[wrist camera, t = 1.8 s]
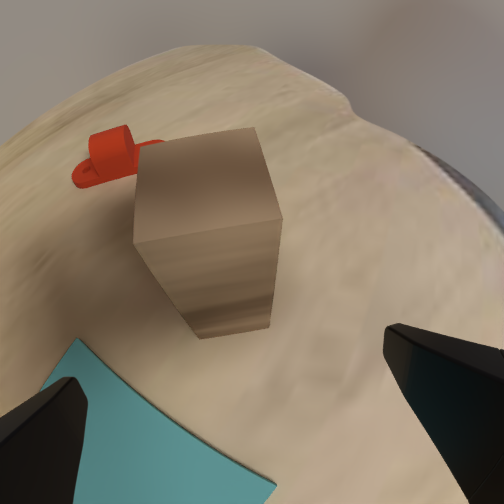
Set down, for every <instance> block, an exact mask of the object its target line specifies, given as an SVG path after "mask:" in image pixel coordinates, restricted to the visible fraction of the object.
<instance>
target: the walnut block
mask: <svg viewBox="0 0 504 504" xmlns="http://www.w3.org/2000/svg"><path fill="white" fill-rule="evenodd" d="M282 221H283V218H282V214H281V211H280V207H279V204H278V201H277V198H276V194H275V191H274V188H273V184H272V181H271V178H270V175H269V172H268V168H267V165H266V162H265V159H264V156H263V153H262V149H261V146H260V143H259V140H258V137H257V134H256V131H255V128H254V127H252V128H243V129H236V130H228V131H222V132H215V133H209V134H203V135H197V136H191V137H185V138H180V139H175V140H170V141H165V142H160V143H155V144H151V145H146V146H142V147H140V153H139V162H138V172H137V183H136V195H135V210H134V229H133V245H134V246H135V248H136V249H137V251H138V252H139V254H140V256H141V257H142V259H143V260H144V262H145V263H146V265H147V266H148V268H149V269H150V271H151V272H152V274H153V275H154V277H155V278H156V280H157V281H158V283H159V284H160V285H161V287H162V288H163V290H164V291H165V293H166V294H167V296H168V297H169V298H170V300H171V301H172V303H173V304H174V305H175V307H176V308H177V310H178V311H179V312H180V314H181V315H182V316H183V318H184V319H185V321H186V322H187V323H188V325H189V326H190V327H191V329H192V330H193V331H194V333H195V334H196V335H197V337H198V338H199V339H206V338H212V337H219V336H225V335H231V334H237V333H243V332H249V331H254V330H260V329H265V328H269V326H270V318H271V311H272V303H273V295H274V288H275V280H276V272H277V263H278V255H279V247H280V238H281V229H282Z"/></svg>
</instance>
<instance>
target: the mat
mask: <svg viewBox="0 0 504 504" xmlns="http://www.w3.org/2000/svg"><path fill="white" fill-rule="evenodd" d="M62 377H75V378H76V379H77V380H78V381H79V383H80V385H81V387H82V389H83V391H84V393H85V395H86V397H87V399H88V411H87V419H86V427H85V436H84V444H83V450H82V455H81V460H80V465H79V470H78V476H77V482H76V488H75V494H74V501H73V504H264V502H265V501H266V500H267V499H268V497H269V496H270V495H271V493H272V492H273V491H274V490H275V488H276V487H277V484H275V483H273V482H271V481H269V480H268V479H266V478H264V477H262V476H260V475H258V474H256V473H254V472H252V471H251V470H249V469H247V468H245V467H244V466H242V465H240V464H238V463H237V462H235V461H233V460H231V459H230V458H228V457H227V456H225V455H223V454H222V453H220V452H218V451H217V450H215V449H214V448H212V447H210V446H209V445H207V444H206V443H204V442H203V441H201V440H200V439H198V438H197V437H195V436H194V435H192V434H191V433H190V432H188V431H187V430H185V429H184V428H182V427H181V426H180V425H178V424H177V423H176V422H174V421H173V420H171V419H170V418H169V417H167V416H166V415H165V414H163V413H162V412H161V411H160V410H158V409H157V408H156V407H154V406H153V405H152V404H151V403H149V402H148V401H147V400H146V399H144V398H143V397H142V396H141V395H140V394H138V393H137V392H136V391H135V390H134V389H132V388H131V387H130V386H129V385H128V384H127V383H125V382H124V381H123V380H122V379H121V378H120V377H119V376H118V375H116V374H115V373H114V372H113V371H112V370H111V369H110V368H109V367H108V366H107V365H106V364H105V363H103V362H102V361H101V360H100V359H99V358H98V357H97V356H96V355H95V354H94V353H93V352H92V351H91V350H90V349H89V348H88V347H87V346H86V345H85V344H84V343H83V342H82V341H81V340H80V339H78V338H76V339H75V341H74V342H73V343H72V345H71V346H70V348H69V349H68V350H67V352H66V353H65V355H64V356H63V357H62V359H61V360H60V362H59V363H58V365H57V366H56V368H55V369H54V371H53V372H52V373H51V375H50V376H49V378H48V379H47V381H46V382H45V384H44V385H43V387H42V389H41V390H40V392H41V391H42V390H44V389H45V388H47V387H48V386H50V385H51V384H53V383H54V382H56V381H57V380H59V379H61V378H62Z"/></svg>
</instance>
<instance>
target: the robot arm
mask: <svg viewBox="0 0 504 504" xmlns="http://www.w3.org/2000/svg"><path fill="white" fill-rule="evenodd" d="M383 355H384V358H385V360H386V362H387V364H388V366H389V368H390V370H391V372H392V374H393V376H394V378H395V380H396V382H397V384H398V386H399V388H400V390H401V392H402V394H403V395H404V397H405V399H406V400H407V402H408V404H409V405H410V407H411V408H412V410H413V411H414V413H415V414H416V416H417V418H418V419H419V421H420V422H421V424H422V425H423V427H424V428H425V430H426V432H427V433H428V435H429V436H430V438H431V440H432V441H433V443H434V444H435V446H436V448H437V449H438V451H439V453H440V454H441V456H442V458H443V459H444V461H445V462H446V464H447V466H448V467H449V469H450V471H451V472H452V474H453V476H454V478H455V479H456V481H457V483H458V484H459V486H460V488H461V490H462V491H463V493H464V495H465V497H466V498H467V500H468V502H469V504H504V350H503V349H500V350H499V349H498V348H494V347H490V346H486V345H482V344H478V343H474V342H470V341H466V340H462V339H458V338H454V337H450V336H446V335H442V334H438V333H434V332H431V331H427V330H423V329H419V328H416V327H412V326H408V325H404V324H401V323H396V324H393V325H390V326H387V327H386V328H385V332H384V343H383ZM87 411H88V399H87V397H86V395H85V393H84V391H83V389H82V387H81V385H80V383H79V381H78V380H77V379H76V378H75V377H62V378H61V379H59V380H57V381H56V382H54V383H53V384H51V385H50V386H48V387H47V388H45V389H44V390H42V391H41V392H39V393H37V394H36V395H34V396H33V397H31V398H30V399H28V400H27V401H25V402H24V403H22V404H21V405H19V406H18V407H16V408H14V409H13V410H11V411H10V412H8V413H7V414H5V415H4V416H2V417H1V418H0V504H73V501H74V494H75V488H76V482H77V476H78V470H79V465H80V460H81V455H82V450H83V444H84V436H85V427H86V419H87Z"/></svg>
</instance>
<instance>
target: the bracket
mask: <svg viewBox="0 0 504 504" xmlns="http://www.w3.org/2000/svg"><path fill="white" fill-rule="evenodd" d="M160 142H165V141H163V140H151V141H147V142H143V143H140V144H136V145H135V144H134V141H133V138H132V135H131V132H130V130H129V128H128V126H127V125H122V126H119V127H116V128H112V129H109V130H106V131H103V132H100V133H97V134H94V135H91V136H90V138H89V144H88V145H89V154H90V158H89V159H86V160H84V161H83V162H81V163H80V164H79V165H78V166H77V167H76V168H75V169H74V171H73V173H72V180H73V182H74V183H75V185H76V186H77V187H78V188H82V189H83V188H88V187H91V186H94V185H98V184H101V183H105V182H108V181H111V180H115V179H119V178H122V177H126V176H129V175H133V174H137V172H138V162H139V153H140V147H142V146H146V145H151V144H155V143H160Z"/></svg>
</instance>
